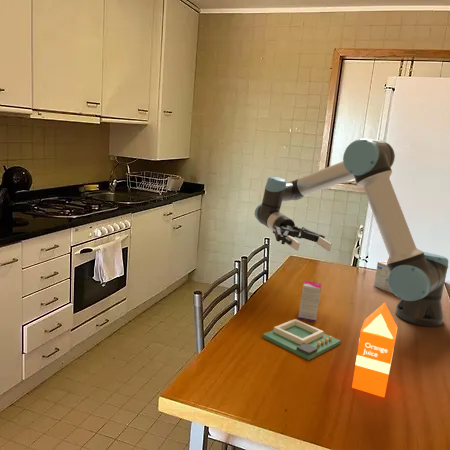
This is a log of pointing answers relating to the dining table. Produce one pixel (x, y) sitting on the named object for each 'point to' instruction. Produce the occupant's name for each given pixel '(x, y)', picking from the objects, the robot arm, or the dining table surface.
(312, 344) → the socket board
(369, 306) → the dining table surface
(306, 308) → the supplement box
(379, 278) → the light bulb box
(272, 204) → the robot arm
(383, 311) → the orange juice
